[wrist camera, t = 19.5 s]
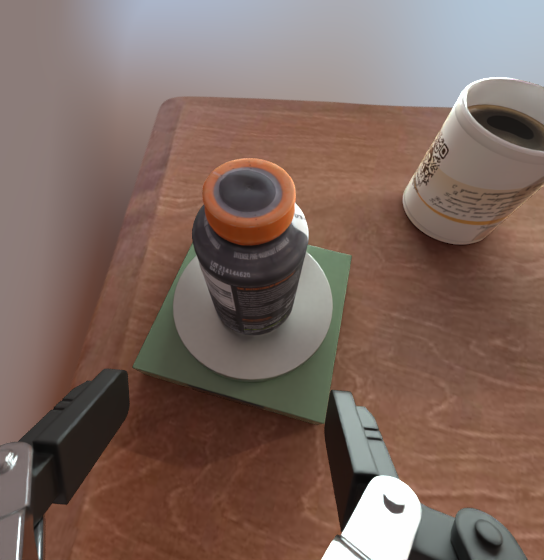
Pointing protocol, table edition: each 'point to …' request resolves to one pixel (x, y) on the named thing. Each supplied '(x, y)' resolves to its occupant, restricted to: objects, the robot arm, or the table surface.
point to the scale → (253, 342)
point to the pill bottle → (250, 244)
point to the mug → (480, 162)
